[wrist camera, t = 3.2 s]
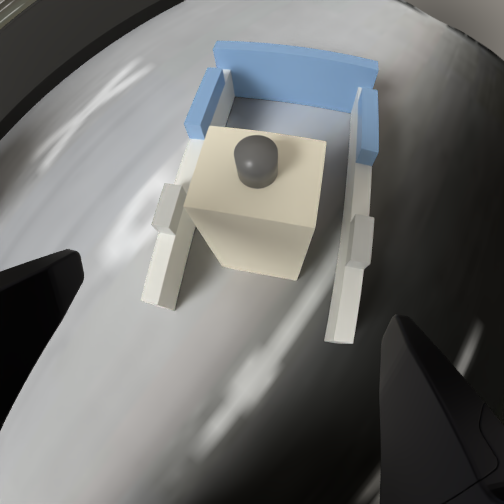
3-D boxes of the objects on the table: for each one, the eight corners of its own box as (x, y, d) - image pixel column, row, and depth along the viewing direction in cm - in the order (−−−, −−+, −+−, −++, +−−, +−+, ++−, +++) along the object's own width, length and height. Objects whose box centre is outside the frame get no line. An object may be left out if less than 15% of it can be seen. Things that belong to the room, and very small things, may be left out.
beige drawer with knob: (296, 280, 19) (319, 214, 9) (222, 266, 20) (173, 190, 10) (305, 225, 20) (330, 121, 10) (235, 213, 20) (203, 106, 11)
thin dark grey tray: (-69, 118, 31) (-65, 233, 23) (-76, 112, 29) (-78, 227, 21) (90, -24, 37) (184, 4, 29) (87, -32, 35) (181, -11, 27)
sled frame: (340, 343, 18) (363, 343, 13) (159, 307, 19) (124, 294, 14) (363, 106, 22) (377, 61, 17) (225, 87, 24) (216, 40, 19)
